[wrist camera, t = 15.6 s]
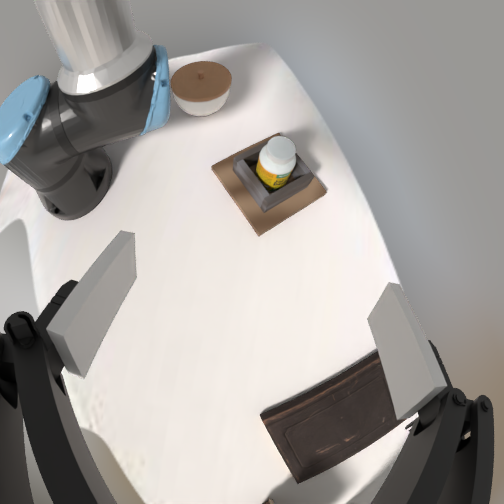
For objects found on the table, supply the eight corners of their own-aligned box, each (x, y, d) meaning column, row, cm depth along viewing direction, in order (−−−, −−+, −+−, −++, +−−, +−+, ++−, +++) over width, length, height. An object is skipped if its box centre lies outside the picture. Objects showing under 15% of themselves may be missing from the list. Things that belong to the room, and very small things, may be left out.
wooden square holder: (211, 169, 45) (211, 153, 40) (277, 136, 48) (283, 119, 43) (258, 236, 44) (263, 226, 38) (324, 195, 46) (335, 182, 41)
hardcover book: (400, 415, 40) (407, 418, 38) (294, 477, 36) (297, 484, 33) (379, 348, 42) (386, 349, 40) (258, 413, 38) (260, 418, 36)
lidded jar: (165, 104, 47) (158, 72, 38) (207, 81, 50) (207, 48, 40) (196, 134, 46) (192, 101, 37) (240, 107, 49) (245, 74, 40)
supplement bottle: (270, 159, 45) (281, 125, 36) (292, 180, 45) (309, 150, 36) (247, 176, 44) (253, 144, 35) (270, 199, 44) (282, 170, 34)
